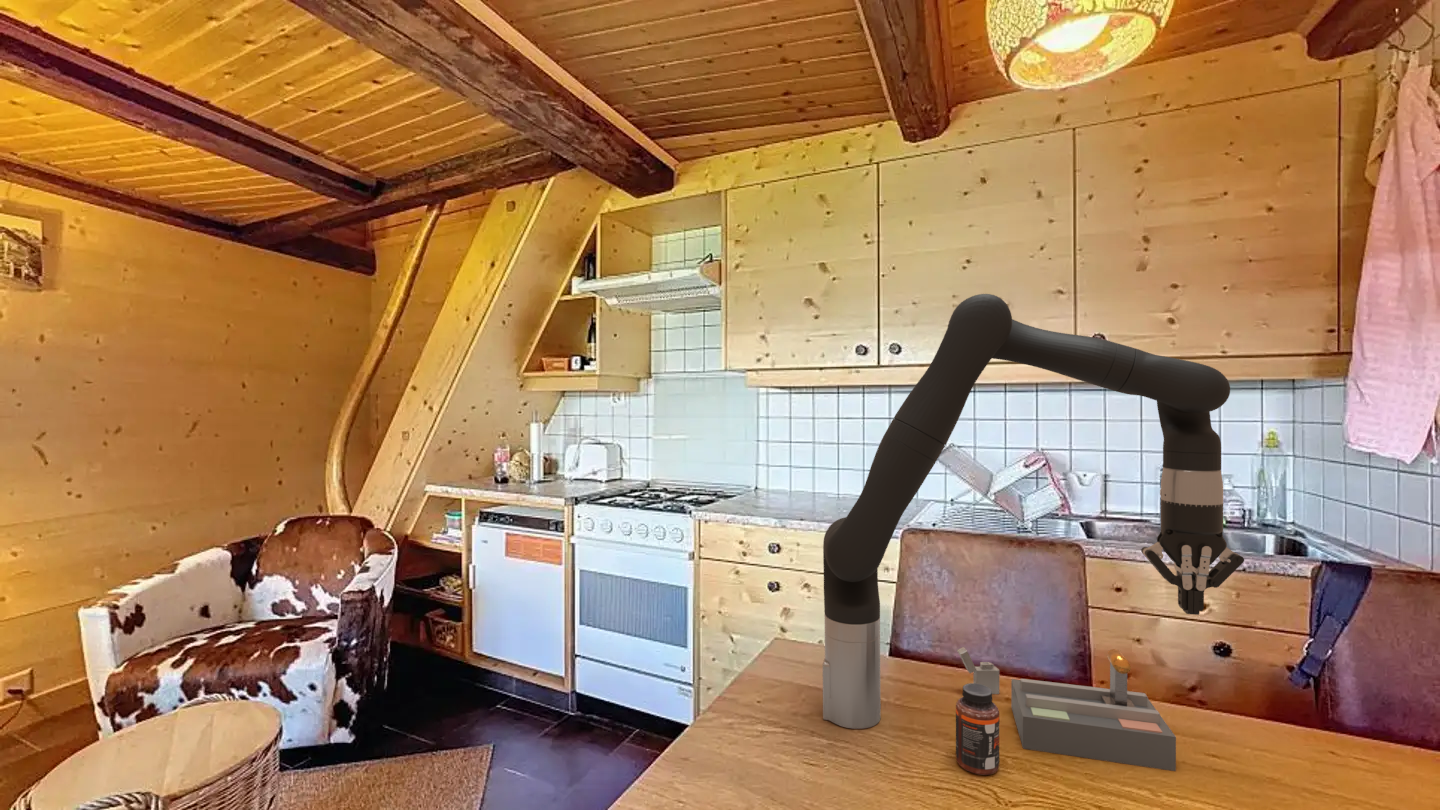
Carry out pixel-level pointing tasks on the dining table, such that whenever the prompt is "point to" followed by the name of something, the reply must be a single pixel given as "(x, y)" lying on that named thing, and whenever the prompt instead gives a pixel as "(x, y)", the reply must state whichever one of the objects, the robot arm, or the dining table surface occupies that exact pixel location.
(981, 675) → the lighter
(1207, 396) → the robot arm
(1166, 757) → the switch box
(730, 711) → the dining table surface
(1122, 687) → the breaker handle
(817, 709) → the dining table surface
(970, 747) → the supplement bottle
